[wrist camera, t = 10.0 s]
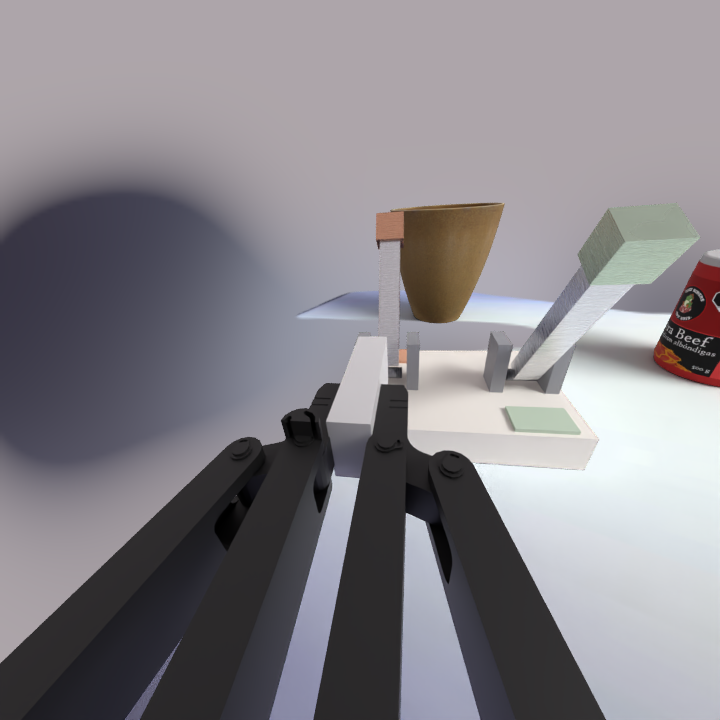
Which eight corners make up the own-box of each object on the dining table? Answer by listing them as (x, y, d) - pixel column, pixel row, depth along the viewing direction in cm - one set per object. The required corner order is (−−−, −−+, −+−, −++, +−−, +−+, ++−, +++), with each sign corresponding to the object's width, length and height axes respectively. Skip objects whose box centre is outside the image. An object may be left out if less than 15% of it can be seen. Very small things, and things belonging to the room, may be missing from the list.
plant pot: (458, 343, 37) (473, 207, 29) (374, 320, 47) (368, 211, 39) (501, 309, 46) (522, 198, 38) (423, 296, 56) (427, 204, 48)
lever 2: (532, 366, 24) (677, 202, 11) (537, 388, 23) (700, 237, 10) (502, 366, 24) (608, 208, 12) (505, 387, 24) (625, 241, 11)
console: (524, 375, 30) (541, 309, 26) (584, 470, 20) (626, 383, 16) (367, 373, 33) (362, 313, 29) (347, 454, 23) (336, 377, 19)
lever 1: (402, 378, 26) (404, 223, 27) (401, 378, 24) (403, 211, 25) (376, 377, 26) (378, 225, 27) (373, 377, 24) (376, 213, 25)
